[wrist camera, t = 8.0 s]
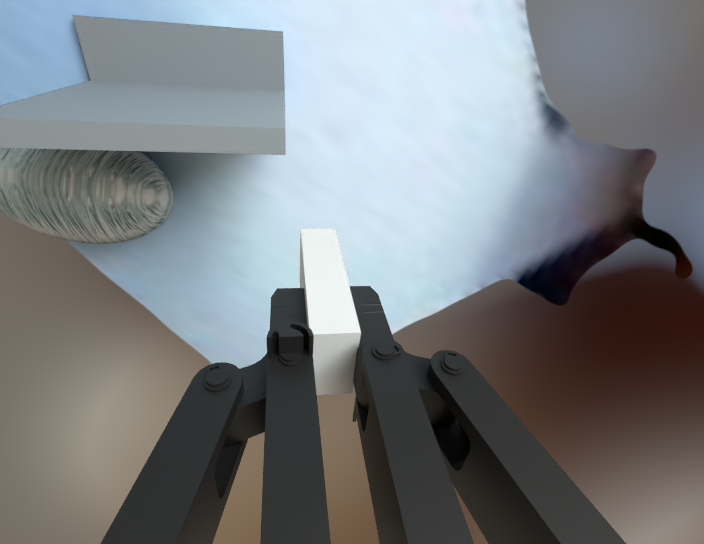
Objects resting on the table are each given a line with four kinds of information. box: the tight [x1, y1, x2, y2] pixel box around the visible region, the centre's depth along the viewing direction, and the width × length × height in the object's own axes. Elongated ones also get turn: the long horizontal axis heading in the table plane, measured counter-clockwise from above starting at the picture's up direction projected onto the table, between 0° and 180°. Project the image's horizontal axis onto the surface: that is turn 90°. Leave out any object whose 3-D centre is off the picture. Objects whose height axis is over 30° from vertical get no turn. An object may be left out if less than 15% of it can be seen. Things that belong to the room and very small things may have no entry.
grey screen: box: [0, 15, 285, 155], centre depth 26 cm, size 6×16×16 cm, turn 86°
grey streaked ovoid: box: [0, 148, 173, 244], centre depth 33 cm, size 14×10×10 cm
